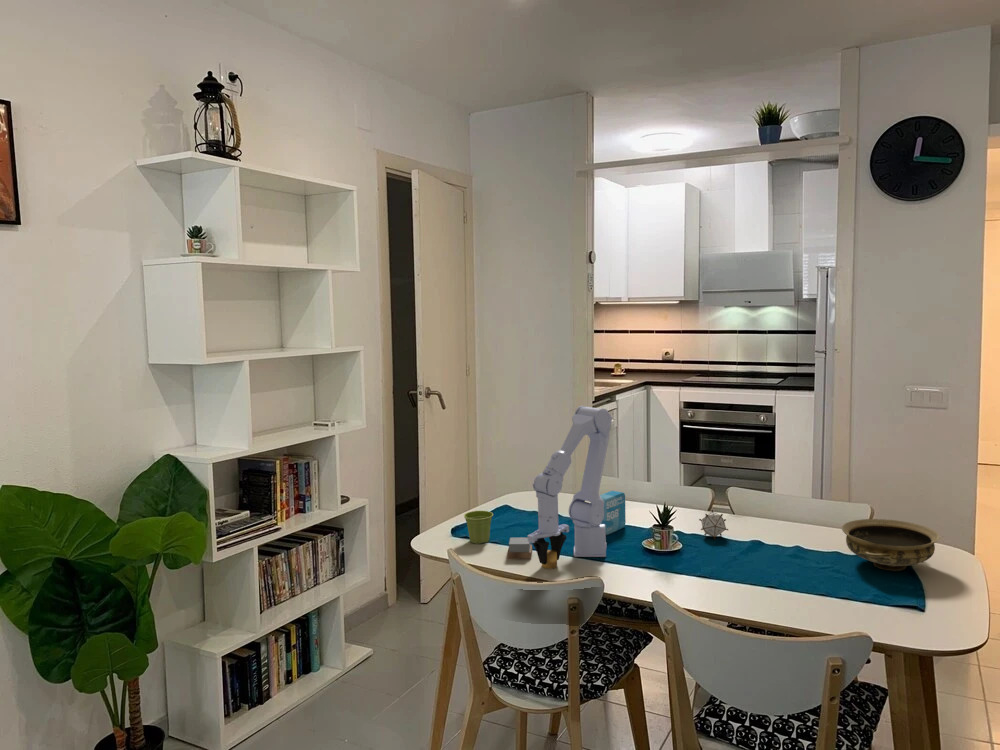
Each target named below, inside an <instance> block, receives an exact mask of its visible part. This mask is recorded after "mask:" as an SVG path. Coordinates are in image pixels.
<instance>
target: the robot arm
mask: <svg viewBox="0 0 1000 750" xmlns="http://www.w3.org/2000/svg"><path fill="white" fill-rule="evenodd" d="M571 420H572V424H571V426H570V429H569V431H568V433H567V435H566V437H565V440H564V442H563V444H562V446H561V447H560V449H559V450H556V451H554V452H553V453H552V455H551V457H550V459H549V461H548V462H547V464H546V466H545V467H544V469H543V471H542V473H541V472H540V473H539V474H538V475H537V476H535V478H534V482H533V483H532V487H533V490H534V492H535V493H536V495H535V497H536V498H537V516H538V524H537V525H538V529H537V530H535V531H534V532H532V533H529V534H527V537H528V542H530V544H531V545H532V546H533V547H534V549H535V551H536V554H537V557H538V559H539V563H540V564H541V565H542V564H546V563H547V550H549V549H548V548H549V545H550V548H551V549H550V550H554V551H556V552H557V561H559V559H560V555H561V552H562V551H561V550H562V548H563V546H564V543H565V541H566V539H567V535H566V534H564V533H569V532H570V525H568V524H565V523H563V524H559V497H558V496H559V495H558V494H559V493H560V492H561V491H562V489H563V481H564V476H565V474H566V473H567V471H568V469H569V468H570V466H571V464H572V462H573V461H572V457H571V456H572V455H573V453H574V452H575V451H576V449H577V447H578V446H579V444H580V443H581V441H582V440H583V438H584V437H585V436H586V435H587V436H588V438H589V444H588V449H587V453H586V454H587V456H586V460H585V466H584V471H583V476H582V482H581V486H580V490H579V491H577V492H576V493H575V494H573V495H572V496H573V497H572V501H571V502H570V504H569V507H568V516H569V518H570V519H571V520H572V523H573V524H574V546H573V557H576V558H578V557H579V558H581V557H583V558H585V557H586V558H587V557H588V558H592V557H593V558H599V557H600V558H605V557H607V548H608V546H607V544H608V543H607V542H606V541H607V539H606V538H607V535H606V533H605V524H600V523H601V522H602V521H603V518H604V501H603V499H602V498H601V497H600V495H601V494H600V488H601V483H602V478H603V473H604V466H605V462H606V456H607V451H608V445H609V441H610V432H611V427H612V422H613V421H612V420H613V417H612V415H611V414H610V412H609V411H608V409H606V408H598V407H591V406H586V405H580V406H578V407H576V409H575V411H574V414H573V415H572V417H571ZM547 538H548V539H549V542H548V541H546V539H547Z"/></svg>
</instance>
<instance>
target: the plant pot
mask: <svg viewBox="0 0 1000 750" xmlns="http://www.w3.org/2000/svg"><path fill="white" fill-rule="evenodd" d="M463 517H464V519H465V522H466V526H467V529H468V530H467V531H468V536H469V541H470V542H471V543H473V544H481V545H482V544H483V543H488V542H489V541H490V534H491V524H492V519H493V517H494V513H493V512H491V511H488V510H474V511H473V510H471V511H468V512H465V513H464V514H463Z"/></svg>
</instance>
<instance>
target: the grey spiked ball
mask: <svg viewBox="0 0 1000 750" xmlns="http://www.w3.org/2000/svg"><path fill="white" fill-rule="evenodd" d="M704 515H705V516H704V517H703V518H702V519H701V518H699V519H698V521H701V522H700V523H701V527H702V528H700V531H703V532H704V534H703V535H704V536H706V535H708V536H711V537H712V538H713V539H714V540H716V538H717V536H722V533H723V532H725V531H729V528H727V527H726V521H727V519H726V518H725V519H724V518H723V515H724V514H723V513H721V514H718V513H715V512H714V510H713V509H711V512H710V513H708V514H707V513H705V514H704Z"/></svg>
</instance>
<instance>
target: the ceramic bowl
mask: <svg viewBox="0 0 1000 750" xmlns="http://www.w3.org/2000/svg"><path fill="white" fill-rule="evenodd" d="M841 531H842V532H843V533H844V534H845V535H846V536H845V543H846V546H847V547H848V549H849V550H850V552H852V553H853V554H854V555H856V556H857V557H860V558H862V559H863V560H867V561H869V562H872V563H873V566H874V567H876V568H878V569H881V570H886V571H893V572H894V571H904V570H905V569H906V568H907V566H914V565H918V564H921V563H923V562H926V561H928V560H929V559H930V558H932V556H933V555H934V554H935V552H936V551H935V550H936V549H935V548H936V547H935V546H936V545H935V543H936V542H938V541H939V540H940V534H939V533H938V531H936V530H934V529H933V528H931V527H928V526H925V525H921V524H919V523H914V522H908V521H904V520H897V519H886V518H883V519H882V518H880V519H879V518H865V519H854V520H851V521H848V522H845V523H844V524H843V525H841ZM906 570H907V569H906Z"/></svg>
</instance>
